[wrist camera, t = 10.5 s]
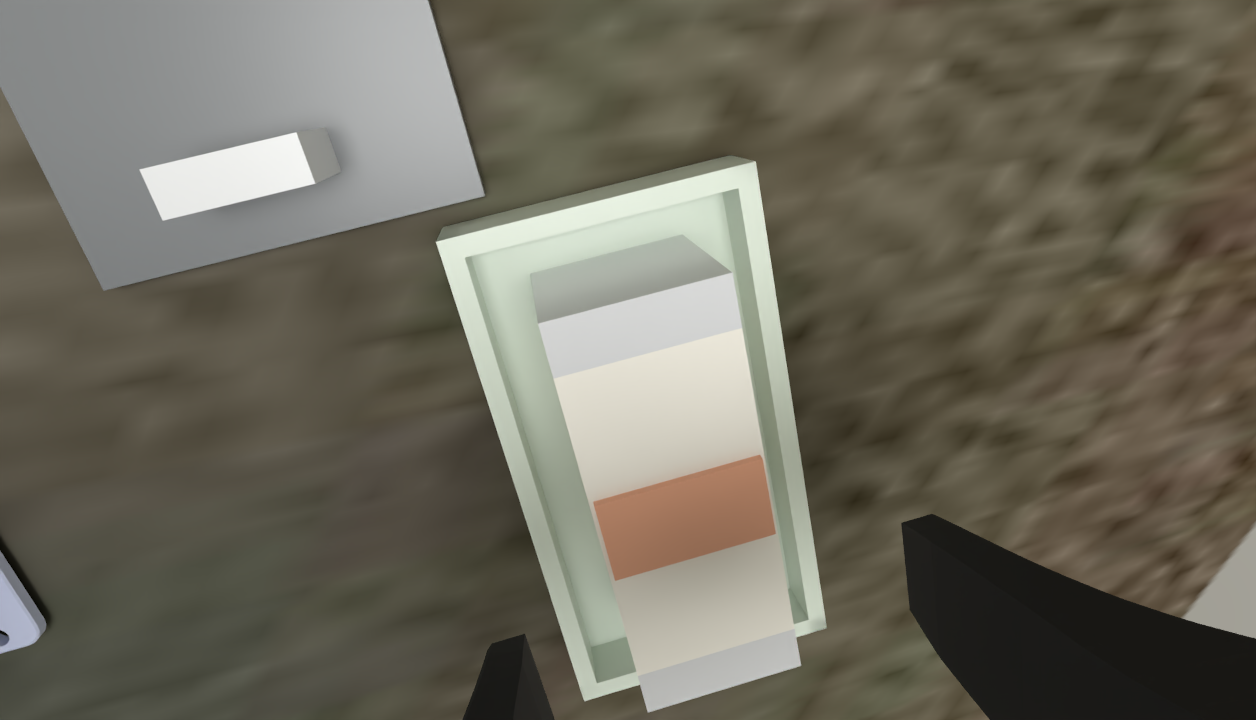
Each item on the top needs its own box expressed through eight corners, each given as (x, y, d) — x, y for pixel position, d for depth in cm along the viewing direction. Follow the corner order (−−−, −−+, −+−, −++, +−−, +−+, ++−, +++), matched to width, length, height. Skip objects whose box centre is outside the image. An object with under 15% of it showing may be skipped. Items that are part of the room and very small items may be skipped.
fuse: (621, 599, 22) (649, 718, 18) (529, 273, 18) (537, 326, 14) (746, 562, 22) (804, 671, 18) (682, 233, 19) (735, 274, 14)
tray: (577, 652, 23) (584, 701, 21) (442, 227, 18) (435, 241, 16) (801, 586, 24) (826, 627, 22) (730, 155, 19) (755, 161, 17)
